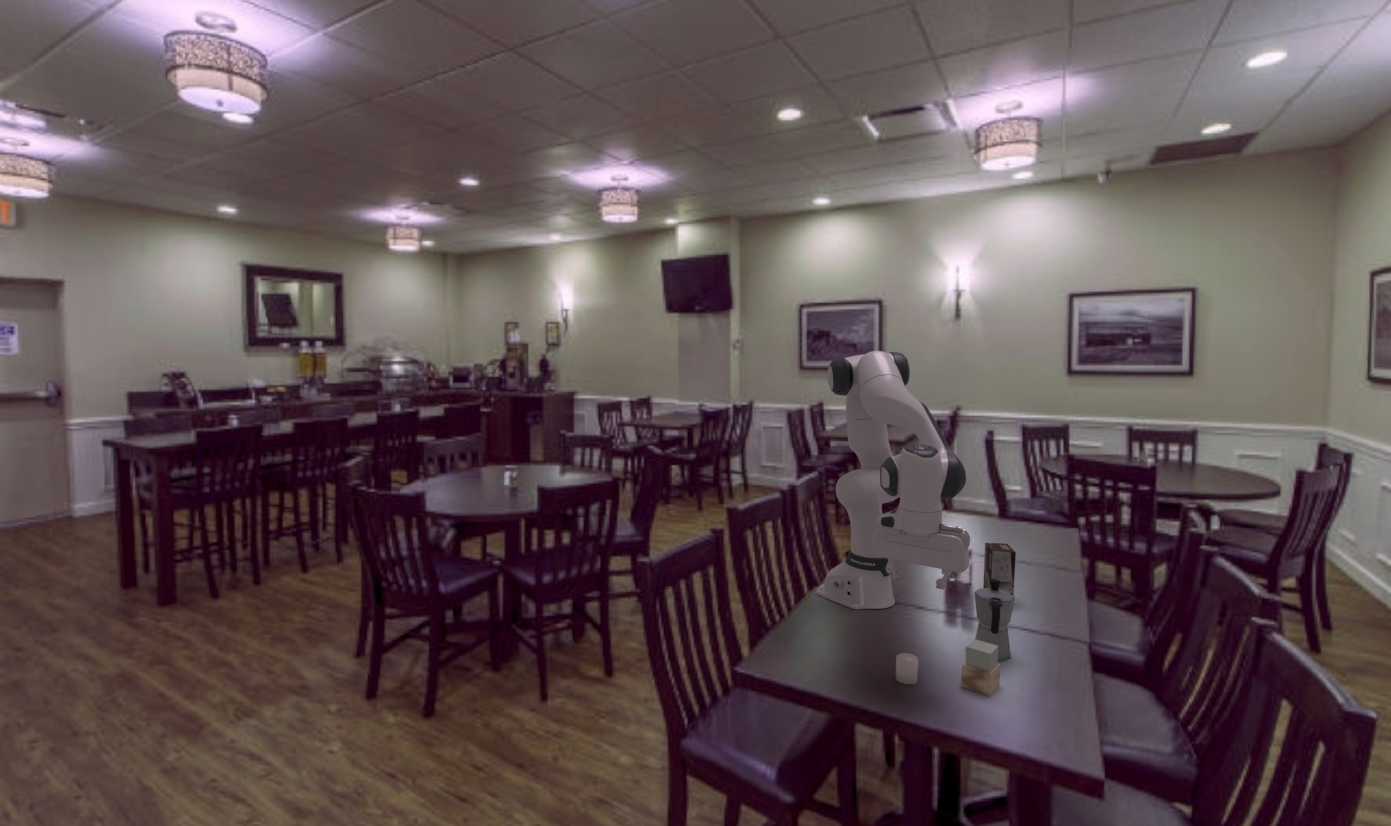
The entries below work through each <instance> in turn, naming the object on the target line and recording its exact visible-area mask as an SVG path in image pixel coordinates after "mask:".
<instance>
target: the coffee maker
mask: <svg viewBox="0 0 1391 826" xmlns="http://www.w3.org/2000/svg"><path fill="white" fill-rule="evenodd" d="M999 585H1000V580H998V579H990V586H991V588H982V587H981V588H980V587H979V588H978V589H977V590H975V591H973V593H974V600H975V602H974V603H975V609H976V611H975V612H976V618H977V619H978V624H977V629H976V634H975V639H976V640H979V641H983V642H986V643H990V644H993V645H997V646H999V649H998V662H1003V661H1007V660H1011V659H1012V655H1011V648H1010V647H1011V646H1010V638H1009V630H1008V627H1009V626H1008V624H1010V623H1011V621H1012V614H1013V609H1014V604H1015V599H1016V597H1015V596H1014V595H1011V594H1010V593H1009V592H1007V591H1003V590H999Z"/></svg>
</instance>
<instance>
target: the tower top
mask: <svg viewBox="0 0 1391 826" xmlns="http://www.w3.org/2000/svg"><path fill="white" fill-rule="evenodd" d="M965 648H966V649H965V661H966V665H969V666H972V667H975V668H978V669H981V670H984V671H988V672H990V671H991V670H992V669H993V668H994V667H995V666H996V665H997V664H998V663H999V661H998V649H999V646H997V645H993V644H990V643H986V642H983V641H979V640H976V639H973V640H972V641H971V642H970V643H969V644H968V645H967V646H966V647H965Z"/></svg>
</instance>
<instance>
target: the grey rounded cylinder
mask: <svg viewBox="0 0 1391 826" xmlns="http://www.w3.org/2000/svg"><path fill="white" fill-rule="evenodd" d="M895 660H896V661H895V680H896V681H897V682H898V681H899V682H898V683H900V682H901V683H900V684H902V683H904V684H903V685H906V684H914V683H916V682H917V681H918V680H919V657H918V656H916V655H914V654H912V653H908V652H901V653H898V654H897V655H896V658H895ZM918 682H919V681H918ZM918 682H917V683H918ZM917 683H916V684H917ZM914 685H915V684H914Z"/></svg>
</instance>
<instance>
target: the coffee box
mask: <svg viewBox="0 0 1391 826" xmlns="http://www.w3.org/2000/svg"><path fill="white" fill-rule="evenodd" d="M1016 554H1017V552H1016V551H1015V550H1014V549H1013V548H1012V547H1011V546H1010V544H1008V543H1002V542H985V543H984V555H983V556H984V560H983V561H984V563H983V588H991V586H990V579H998V580H1000V585H999V590H1003V591H1007V592H1009V593H1010V594H1011V595H1013V596H1014V592H1015V591H1014V589H1015V576H1016V574H1015V572H1016V556H1017V555H1016Z"/></svg>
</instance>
